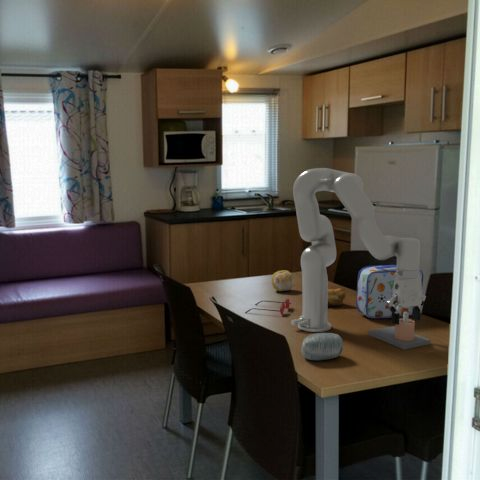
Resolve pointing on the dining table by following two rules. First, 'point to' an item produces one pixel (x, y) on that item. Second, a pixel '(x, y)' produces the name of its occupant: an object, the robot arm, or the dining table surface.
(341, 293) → the bread roll
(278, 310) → the glasses
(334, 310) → the dining table surface
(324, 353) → the grey yarn ball
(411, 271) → the robot arm
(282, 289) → the fruit
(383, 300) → the lunch box
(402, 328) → the bead
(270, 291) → the dining table surface
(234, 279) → the dining table surface
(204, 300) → the dining table surface
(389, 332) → the grey peg stand
